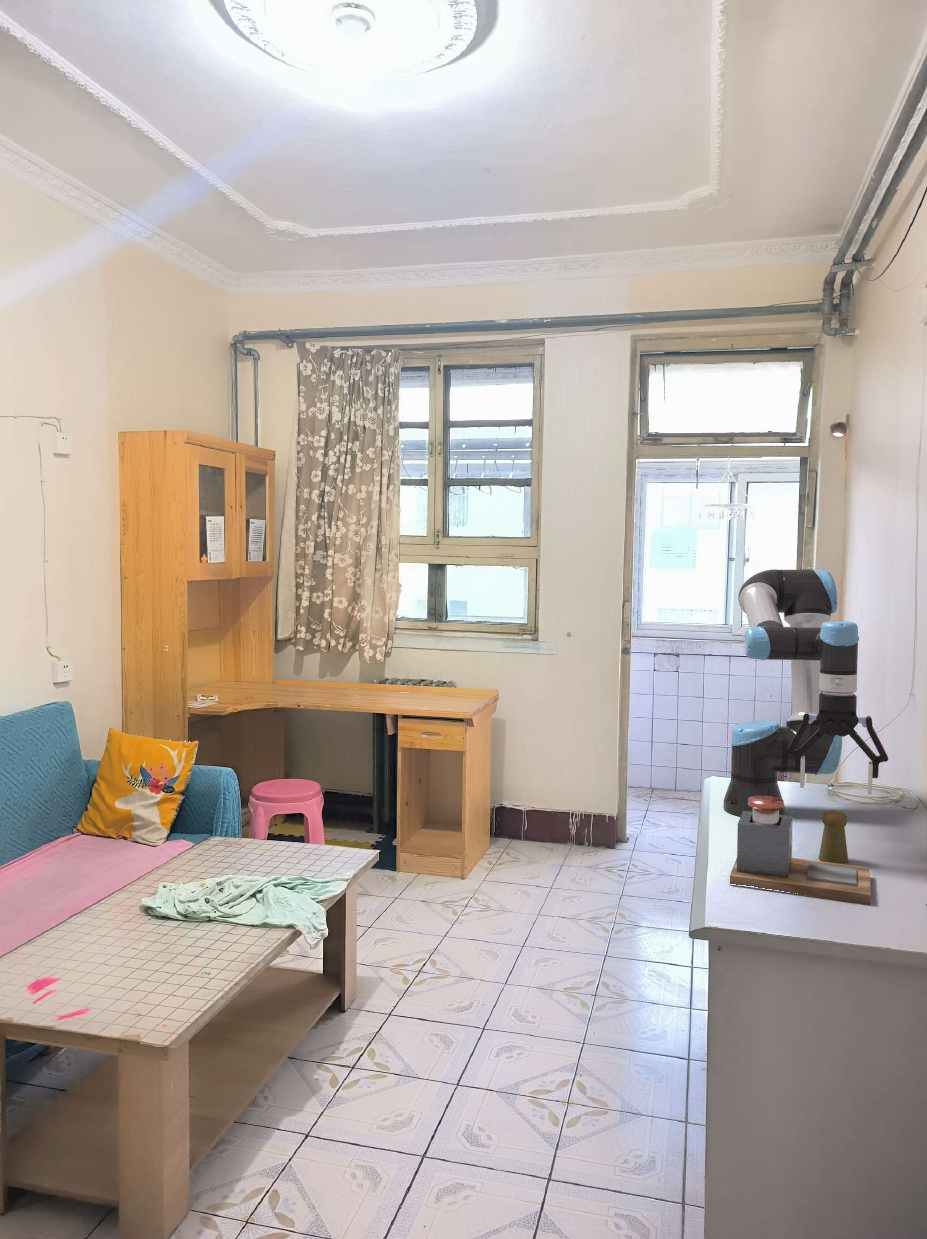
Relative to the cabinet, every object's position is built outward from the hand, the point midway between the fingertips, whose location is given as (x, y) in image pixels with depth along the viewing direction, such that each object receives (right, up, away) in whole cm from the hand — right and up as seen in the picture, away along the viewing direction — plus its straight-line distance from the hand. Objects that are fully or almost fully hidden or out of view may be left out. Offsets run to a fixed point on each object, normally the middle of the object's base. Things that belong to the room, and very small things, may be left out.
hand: (835, 789), depth 192 cm
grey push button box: (-18, -15, -8) cm, 25 cm away
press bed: (-12, -17, -11) cm, 23 cm away
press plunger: (-18, -10, -8) cm, 22 cm away
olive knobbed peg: (0, -16, +1) cm, 16 cm away
